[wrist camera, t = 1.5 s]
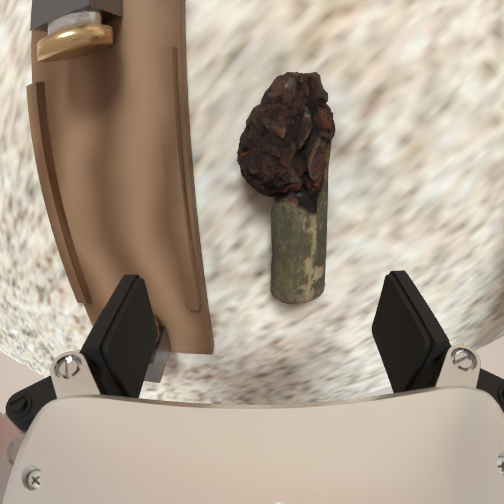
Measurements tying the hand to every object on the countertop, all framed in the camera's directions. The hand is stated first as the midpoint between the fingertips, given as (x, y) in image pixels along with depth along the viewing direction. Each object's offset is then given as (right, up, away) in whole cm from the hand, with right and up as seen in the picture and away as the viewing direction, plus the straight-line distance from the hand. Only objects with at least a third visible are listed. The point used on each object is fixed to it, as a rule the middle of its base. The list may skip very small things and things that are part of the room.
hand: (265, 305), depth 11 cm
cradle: (-12, +8, +13) cm, 20 cm away
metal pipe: (+2, +8, +13) cm, 15 cm away
